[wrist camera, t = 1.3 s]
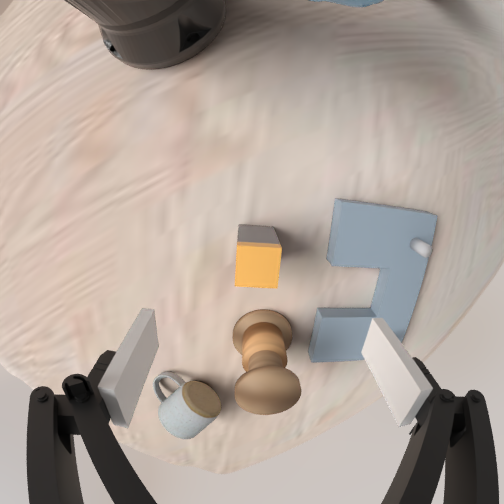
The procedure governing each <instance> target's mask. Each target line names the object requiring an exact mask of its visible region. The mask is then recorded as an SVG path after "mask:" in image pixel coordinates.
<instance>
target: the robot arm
mask: <svg viewBox="0 0 504 504" xmlns="http://www.w3.org/2000/svg"><path fill="white" fill-rule="evenodd" d="M65 1H66V2H68V3H69V4H71V5H72V6H74V7H75V8H77V9H78V10H80V11H81V12H82V13H84V14H85V15H87V16H88V17H89V18H91V19H92V20H94V21H95V22H96V23H98V25H99V28H100V32H101V35H102V38H103V41H104V43H105V46H106V47H107V49H108V50H109V52H110V53H111V54H112V55H113V56H115V57H116V58H117V59H119V60H120V61H122V62H123V63H125V64H127V65H129V66H132V67H135V68H140V69H159V68H165V67H169V66H172V65H175V64H178V63H181V62H183V61H185V60H187V59H189V58H191V57H193V56H194V55H196V54H198V53H199V52H200V51H202V50H203V49H204V48H205V47H207V46H208V45H209V44H210V43H211V42H212V41H213V40H214V38H215V37H216V36H217V34H218V33H219V31H220V30H221V28H222V26H223V23H224V20H225V15H226V6H225V0H65ZM309 1H314V2H320V1H327V2H332V3H337V4H342V5H346V6H351V7H366V6H370V5H372V4H377V3H380V2H382V1H383V0H309ZM158 347H159V344H158V336H157V328H156V320H155V311H154V309H146V308H142V309H141V311H140V313H139V314H138V316H137V318H136V319H135V321H134V323H133V324H132V326H131V328H130V329H129V331H128V333H127V335H126V336H125V338H124V340H123V341H122V343H121V345H120V347H119V348H118V350H117V352H115V351H109V350H107V351H106V352H104V353H103V354H102V355H100V357H99V359H98V360H97V362H96V364H95V365H94V367H93V369H92V370H91V372H90V374H89V375H88V377H86V376H84V375H81V374H73V375H70V376H68V377H67V378H66V379H64V381H63V383H62V388H63V390H64V392H65V395H54V393H53V391H52V390H51V389H50V388H48V387H44V386H42V387H38V388H36V389H34V390H33V392H32V393H31V395H30V403H29V412H28V426H27V479H28V480H27V481H28V492H29V503H30V504H84V503H83V498H82V493H81V488H80V482H79V477H78V471H77V464H76V457H75V447H74V437H73V435H81V437H82V439H83V442H84V444H85V446H86V449H87V451H88V453H89V455H90V457H91V460H92V462H93V464H94V466H95V468H96V470H97V472H98V474H99V476H100V478H101V480H102V482H103V484H104V486H105V488H106V489H107V491H108V493H109V495H110V497H111V498H112V500H113V502H114V503H115V504H157V503H156V502H155V500H154V499H153V497H152V496H151V495H150V493H149V492H148V491H147V489H146V487H145V486H144V485H143V483H142V482H141V480H140V479H139V477H138V475H137V474H136V472H135V471H134V469H133V468H132V466H131V464H130V463H129V461H128V459H127V458H126V456H125V454H124V452H123V451H122V449H121V447H120V445H119V444H118V442H117V440H116V438H115V436H114V434H113V432H112V430H111V428H110V426H109V424H108V423H109V421H110V418H111V420H112V422H113V424H114V425H117V426H121V427H125V428H129V425H130V422H131V419H132V416H133V414H134V411H135V408H136V405H137V402H138V400H139V397H140V394H141V392H142V389H143V386H144V383H145V381H146V378H147V376H148V373H149V370H150V368H151V365H152V363H153V360H154V358H155V355H156V352H157V350H158ZM361 353H362V355H363V357H364V359H365V361H366V363H367V365H368V367H369V369H370V371H371V372H372V374H373V376H374V378H375V380H376V382H377V384H378V386H379V388H380V390H381V392H382V394H383V396H384V398H385V400H386V402H387V404H388V406H389V408H390V410H391V412H392V414H393V416H394V419H395V421H396V422H397V425H398V427H401V426H405V425H408V424H411V422H412V421H413V419H414V418H415V417H416V419H417V421H418V422H417V423H416V425H415V426H414V427H413V429H412V430H411V432H410V433H409V434H411V433H412V432H413V433H412V435H411V438H410V441H409V444H408V447H407V449H406V451H405V454H404V456H403V459H402V461H401V464H400V466H399V468H398V471H397V473H396V475H395V477H394V479H393V482H392V484H391V486H390V488H389V490H388V492H387V494H386V496H385V498H384V500H383V501H382V503H381V504H431V502H432V499H433V497H434V494H435V491H436V488H437V485H438V482H439V478H440V475H441V472H442V468H443V465H444V461H445V490H444V503H443V504H499V487H498V473H497V462H496V454H495V447H494V440H493V434H492V429H491V424H490V419H489V415H488V410H487V406H486V401H485V398H484V396H483V395H482V394H481V392H479V391H477V390H470V391H468V393H467V394H466V396H465V397H455V395H454V394H453V393H452V392H451V391H449V390H446V389H441V388H440V387H439V385H438V383H437V382H436V381H435V379H434V378H433V376H432V375H431V374H430V372H429V371H428V369H426V367H425V365H424V364H423V362H422V361H420V360H419V359H418V358H416V357H413V358H412V357H411V356H410V354H409V353H408V351H407V350H406V349H405V347H404V346H403V345H402V343H401V342H400V340H399V339H398V338H397V336H396V335H395V334H394V332H393V331H392V330H391V328H390V327H389V326H388V324H387V323H386V322H385V320H384V319H383V318H372V321H371V324H370V327H369V331H368V334H367V337H366V340H365V343H364V346H363V349H362V352H361Z"/></svg>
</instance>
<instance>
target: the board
mask: <svg viewBox="0 0 504 504" xmlns="http://www.w3.org/2000/svg"><path fill="white" fill-rule="evenodd" d="M436 221H437V215H434V214H432V213H429V212H426V211H420V210H414V209H408V208H402V207H396V206H389V205H382V204H375V203H368V202H360V201H353V200H344V199H336V198H335V203H334V211H333V218H332V225H331V232H330V239H329V246H328V252H327V258H326V259H327V260H328V261H329V262H330V264H331V265H332V266H344V267H364V268H380V272H379V277H378V281H377V285H376V289H375V293H374V296H373V300H372V304H371V307H370V308H317V313H316V318H315V323H314V327H313V332H312V337H311V341H310V346H309V350H308V353H309V356H310V360H311V362H336V361H354V360H365V359H364V357H363V355H362V353H361V352H362V349H363V346H364V343H365V340H366V337H367V334H368V331H369V327H370V324H371V321H372V318H383V319H384V320H385V322H386V323H387V324H388V326H389V327H390V328H391V330H392V331H393V332H394V334H395V335H396V336H397V338H398V339H399V340H400V342H401V343H402V340H403V338H404V335H405V333H406V330H407V327H408V324H409V322H410V319H411V316H412V313H413V310H414V307H415V304H416V301H417V298H418V294H419V291H420V288H421V284H422V281H423V277H424V274H425V270H426V266H427V262H428V258H429V256H430V255H431V253H432V247H431V246H432V241H433V237H434V232H435V227H436Z"/></svg>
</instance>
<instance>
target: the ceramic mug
mask: <svg viewBox="0 0 504 504" xmlns="http://www.w3.org/2000/svg"><path fill="white" fill-rule="evenodd" d="M166 377H169V378H170V379H172V380H173V381H175V382H176V383H177V384H178V385H179V386H180V387H179V388H178V389H177V390H176V391H175V392H174V393H173V394H171V395H170V396H169V397H168V398H166V397H165V395H164V394H163V393H162V391H161V389H160V386H159V381H160V380H161V379H162V378H166ZM153 389H154V392H155V394H156V396H157V398H158V399H159V400H160V402H161V405H160V407H159V409H158V415H159V419H160V421H161V423H162V425H163V427H164V428H165V429H166V430H167V431H168V432H169V433H170V434H172V435H174V436H175V437H178V438H181V439H191V438H193V437H195V436H196V435H197V434H198V433H200V432H201V431H202V430H203V429H204V428H206V427H207V426H208V425H209V424H210V423H211V422H213V421H214V420H215V419H216V417H217V416H218V415H219V413H220V411H221V402H220V399H219V397H218V395H217V394H216V392H215V391H214V390H213V389H212V388H210V387H209V386H208V385H206V384H204V383H202V382H199V381H189V382H187V383H186V382H184V381H183V379H182V378H181V377H179V376H178V375H176V374H175V373H172V372H163V373H161V374H160V375H158V376H157V377H156V378H155V379H154V381H153Z"/></svg>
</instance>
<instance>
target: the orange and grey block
mask: <svg viewBox="0 0 504 504" xmlns="http://www.w3.org/2000/svg"><path fill="white" fill-rule="evenodd" d="M281 252H282V247H281V245H280V242H279V240H278V237H277V235H276V232H275V230H274V227H271V226H256V225H239V228H238V240H237V254H236V273H235V286H239V287H258V288H277V287H278V278H279V270H280V261H281Z"/></svg>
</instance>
